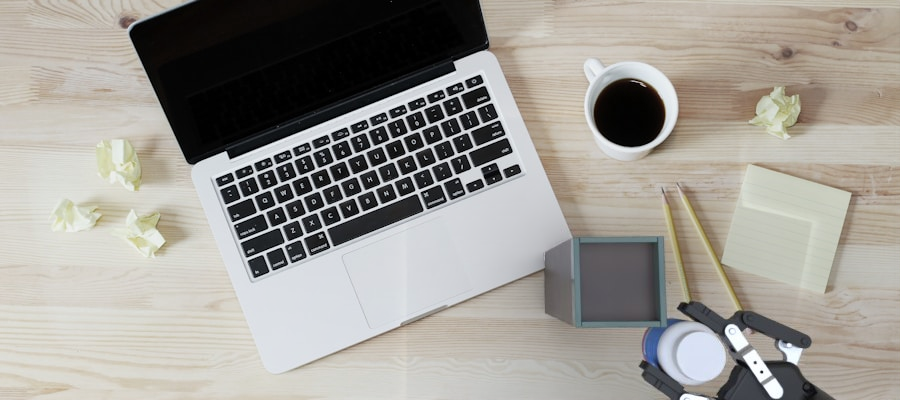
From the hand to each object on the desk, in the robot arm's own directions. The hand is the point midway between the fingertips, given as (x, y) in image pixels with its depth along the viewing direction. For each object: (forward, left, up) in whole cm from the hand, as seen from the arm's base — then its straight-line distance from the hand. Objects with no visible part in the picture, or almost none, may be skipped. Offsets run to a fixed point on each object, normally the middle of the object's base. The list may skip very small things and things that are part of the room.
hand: (662, 335), depth 64 cm
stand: (+5, +4, -24) cm, 24 cm away
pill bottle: (-2, -2, -6) cm, 7 cm away
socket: (+5, +4, +3) cm, 7 cm away
